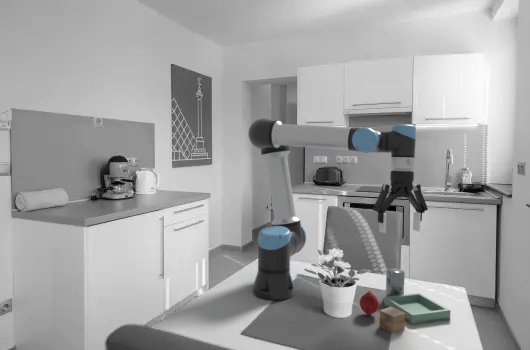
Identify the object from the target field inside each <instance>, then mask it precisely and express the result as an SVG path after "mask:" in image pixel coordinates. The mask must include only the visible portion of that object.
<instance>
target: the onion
mask: <svg viewBox="0 0 530 350" xmlns="http://www.w3.org/2000/svg"><path fill="white" fill-rule="evenodd" d="M379 306H380V303H379V299H378V298H377V296H376V295H375V294H374V293H372V290H371V289H369V290H368V291H367V292H365V293H364V294H362V295H361V297H360V300H359V307H360V309H361V310H362V311H363V313H365V314H366V315H367V316H372V315H373V314H375V313H376V312H377V311H378V310H379Z"/></svg>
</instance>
